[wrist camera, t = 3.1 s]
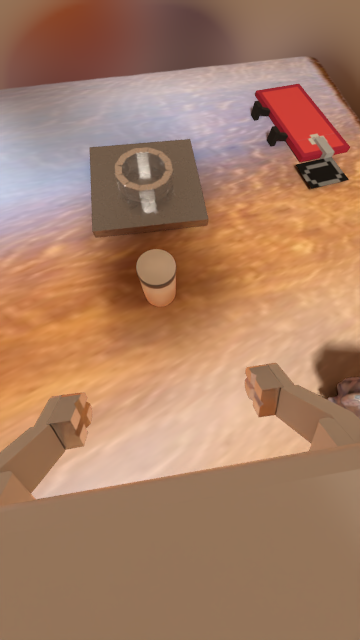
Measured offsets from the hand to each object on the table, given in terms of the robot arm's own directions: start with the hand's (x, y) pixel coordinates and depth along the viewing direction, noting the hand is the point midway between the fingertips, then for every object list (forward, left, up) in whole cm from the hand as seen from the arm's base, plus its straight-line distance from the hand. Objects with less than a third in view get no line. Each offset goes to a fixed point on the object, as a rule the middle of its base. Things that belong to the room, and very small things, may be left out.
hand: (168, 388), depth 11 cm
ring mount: (0, +37, -20) cm, 42 cm away
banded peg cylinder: (0, +15, -20) cm, 25 cm away
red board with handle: (+34, +48, -21) cm, 62 cm away
